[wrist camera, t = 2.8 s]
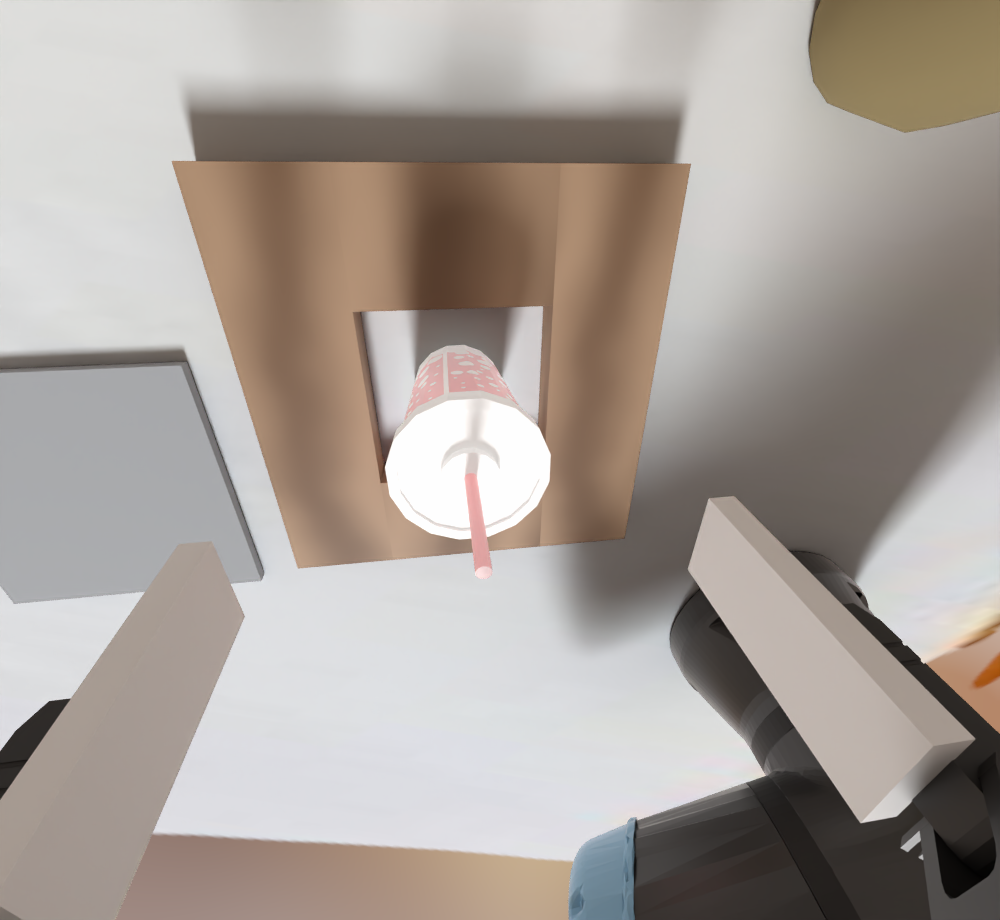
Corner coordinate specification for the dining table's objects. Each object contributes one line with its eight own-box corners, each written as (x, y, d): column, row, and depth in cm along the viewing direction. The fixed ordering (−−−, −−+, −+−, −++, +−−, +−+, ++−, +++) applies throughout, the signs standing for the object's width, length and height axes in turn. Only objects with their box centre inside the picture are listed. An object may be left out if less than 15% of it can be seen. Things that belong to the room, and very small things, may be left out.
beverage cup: (420, 448, 26) (410, 666, 14) (383, 346, 23) (329, 514, 11) (523, 422, 26) (602, 617, 14) (500, 316, 23) (579, 451, 11)
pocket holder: (669, 166, 20) (690, 163, 19) (613, 519, 30) (624, 538, 29) (196, 164, 18) (171, 161, 16) (306, 545, 28) (297, 568, 26)
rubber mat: (187, 361, 22) (181, 365, 21) (264, 573, 29) (261, 580, 28) (-146, 375, 20) (-161, 379, 20) (22, 596, 27) (14, 603, 27)
